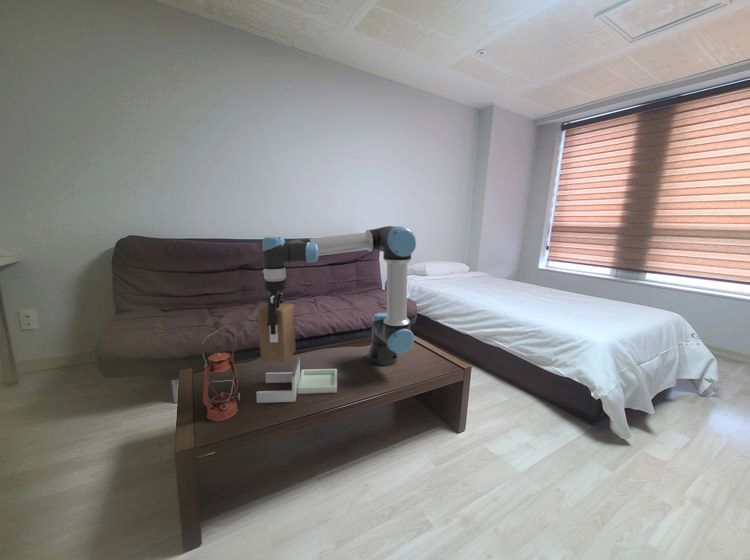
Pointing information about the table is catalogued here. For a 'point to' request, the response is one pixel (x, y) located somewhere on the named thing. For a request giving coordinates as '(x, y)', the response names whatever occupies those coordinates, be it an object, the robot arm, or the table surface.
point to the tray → (317, 381)
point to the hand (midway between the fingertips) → (277, 335)
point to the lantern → (222, 402)
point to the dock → (281, 378)
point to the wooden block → (285, 333)
